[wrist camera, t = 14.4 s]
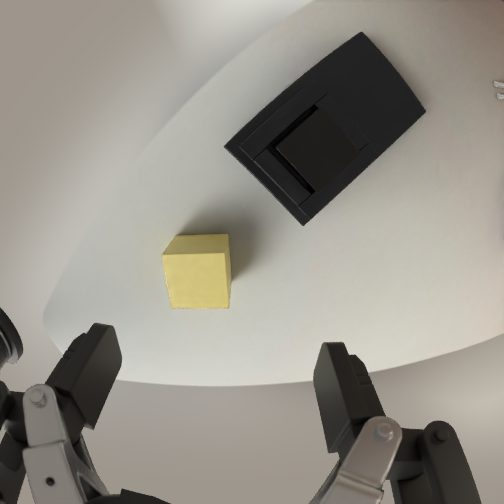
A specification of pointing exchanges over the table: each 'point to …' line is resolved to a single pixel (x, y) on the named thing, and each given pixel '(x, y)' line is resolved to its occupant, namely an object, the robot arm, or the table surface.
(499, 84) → the human figurine
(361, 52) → the black hollow base
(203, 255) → the note cube
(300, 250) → the table surface
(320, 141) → the black square block
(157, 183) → the table surface
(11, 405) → the robot arm
